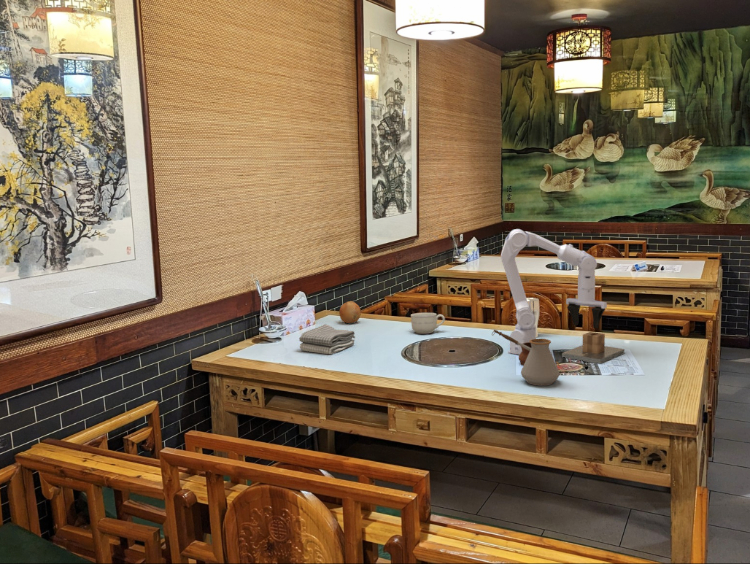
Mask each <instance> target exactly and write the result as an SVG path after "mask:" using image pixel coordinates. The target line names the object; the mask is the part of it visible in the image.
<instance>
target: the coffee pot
mask: <svg viewBox="0 0 750 564" xmlns="http://www.w3.org/2000/svg"><path fill="white" fill-rule="evenodd" d="M495 334H498V335H499V336H501V337H502V338H504V339H506V340H507V341H509V342H510V341H511V342H513V343H516V344H518V345H520V346H522V347H523V348H525V349H527V350H529V351H530V352H529V354H528V357H527V359H526V361H525V363H524V366H523V365H522V366H523V367H522V369H521V371H520V375H521V377H522V378H523V380H525V381H526V382H527V383H528V384H530V385H534V386H541V387H542V386H549V385H553V383H555V382H556V381H557V380H558V378H559V377H560V371H559V368H558V365H557V363H556V361H555V360H554V357H553V355H552V352H551V350H550V344H552V341H551V340H550V339H547V338H536V339H532V340H530V341H529V342H530V343H531V346H532V348H530V347H528V346H526V345H524V344H522V343H520V342H518V341H516V340H515V339H513V338H511V337H510V335H508V334H505V333H502V331H499V330H497V329H493V331H492V333H491V336H494V335H495Z"/></svg>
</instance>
